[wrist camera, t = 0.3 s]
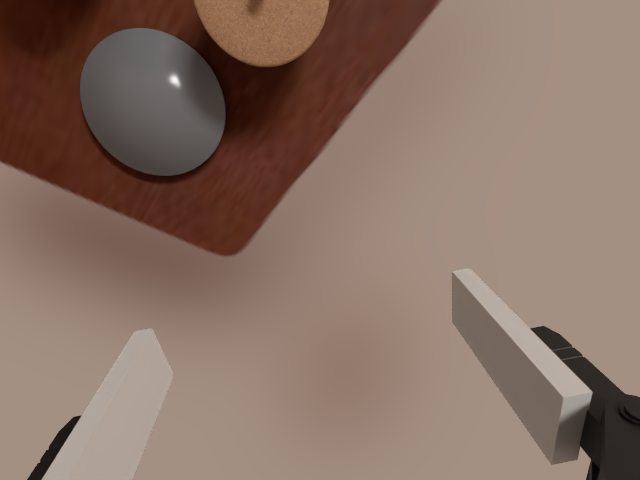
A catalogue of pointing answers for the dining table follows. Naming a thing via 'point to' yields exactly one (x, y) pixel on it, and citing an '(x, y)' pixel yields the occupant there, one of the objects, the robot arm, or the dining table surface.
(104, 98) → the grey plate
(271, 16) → the lidded jar
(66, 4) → the dining table surface
